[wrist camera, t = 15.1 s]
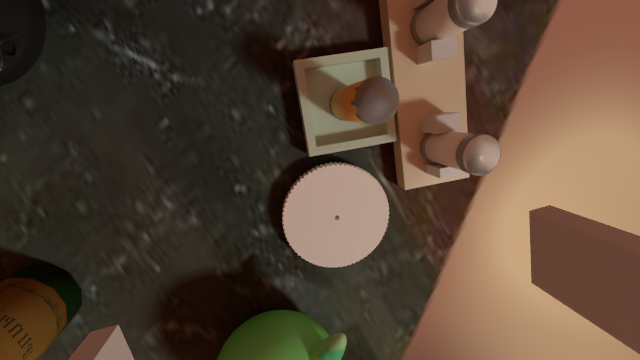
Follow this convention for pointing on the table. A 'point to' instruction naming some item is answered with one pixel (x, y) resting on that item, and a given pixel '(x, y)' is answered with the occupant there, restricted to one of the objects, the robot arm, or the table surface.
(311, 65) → the tray
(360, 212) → the plastic lid
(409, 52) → the block
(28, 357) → the bottle
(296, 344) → the toy bird
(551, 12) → the table surface
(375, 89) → the cylinder
